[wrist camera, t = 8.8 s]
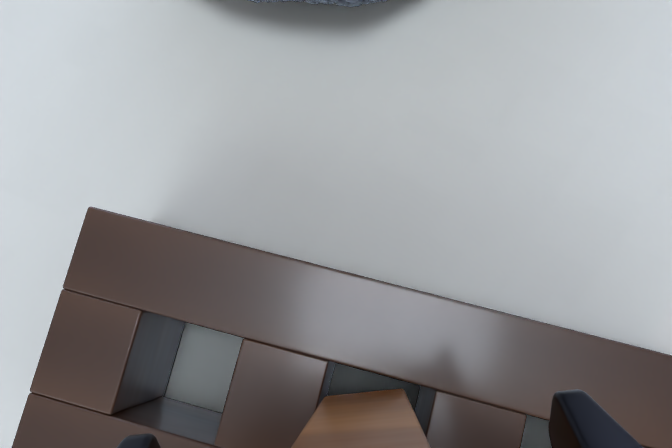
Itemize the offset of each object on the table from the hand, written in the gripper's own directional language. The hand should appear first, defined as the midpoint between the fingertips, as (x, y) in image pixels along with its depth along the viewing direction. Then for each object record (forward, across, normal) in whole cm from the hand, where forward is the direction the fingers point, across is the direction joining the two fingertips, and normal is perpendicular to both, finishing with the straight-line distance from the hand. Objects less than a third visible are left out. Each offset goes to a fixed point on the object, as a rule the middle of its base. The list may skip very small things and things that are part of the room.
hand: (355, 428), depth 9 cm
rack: (+8, 0, +10) cm, 12 cm away
